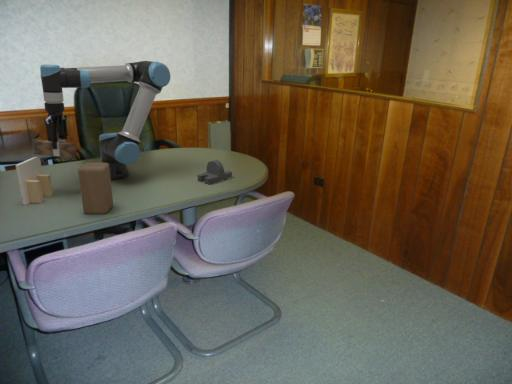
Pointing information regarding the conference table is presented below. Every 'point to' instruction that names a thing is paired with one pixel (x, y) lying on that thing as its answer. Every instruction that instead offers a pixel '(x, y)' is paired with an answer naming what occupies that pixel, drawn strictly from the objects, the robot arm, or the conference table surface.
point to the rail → (46, 148)
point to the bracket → (214, 173)
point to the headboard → (33, 181)
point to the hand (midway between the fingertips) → (60, 154)
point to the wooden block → (95, 188)
